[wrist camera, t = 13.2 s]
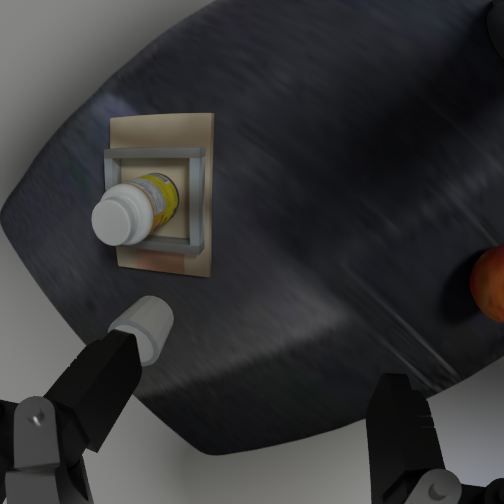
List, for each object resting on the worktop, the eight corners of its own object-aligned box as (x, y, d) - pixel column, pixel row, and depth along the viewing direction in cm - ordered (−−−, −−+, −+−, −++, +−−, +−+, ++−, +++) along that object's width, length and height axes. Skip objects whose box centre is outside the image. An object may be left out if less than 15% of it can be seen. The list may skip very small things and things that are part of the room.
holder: (114, 118, 32) (100, 118, 29) (214, 113, 30) (206, 112, 28) (121, 262, 39) (110, 272, 36) (211, 273, 37) (204, 285, 34)
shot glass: (177, 296, 39) (155, 327, 33) (179, 339, 42) (161, 372, 35) (129, 287, 40) (102, 314, 33) (134, 329, 42) (112, 359, 36)
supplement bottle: (146, 226, 35) (97, 261, 26) (130, 180, 33) (75, 202, 24) (189, 213, 34) (148, 247, 24) (173, 164, 32) (124, 180, 23)
